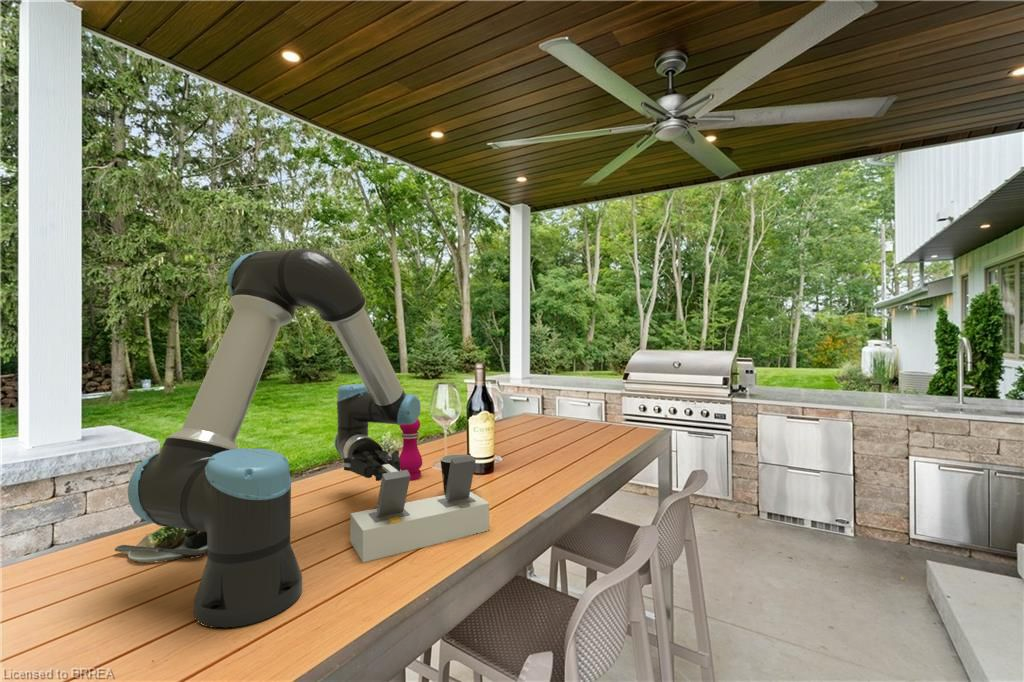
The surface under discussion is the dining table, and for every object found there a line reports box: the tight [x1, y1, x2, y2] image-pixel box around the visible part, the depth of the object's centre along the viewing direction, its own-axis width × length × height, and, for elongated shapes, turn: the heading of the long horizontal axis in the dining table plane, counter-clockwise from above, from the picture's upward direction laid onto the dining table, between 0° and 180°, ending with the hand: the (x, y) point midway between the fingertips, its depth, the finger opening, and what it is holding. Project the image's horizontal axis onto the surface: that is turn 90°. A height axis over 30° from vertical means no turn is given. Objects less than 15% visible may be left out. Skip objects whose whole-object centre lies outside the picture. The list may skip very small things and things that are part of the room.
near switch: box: [376, 470, 410, 517], centre depth 92 cm, size 5×2×10 cm, turn 122°
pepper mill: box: [399, 418, 423, 481], centre depth 140 cm, size 7×7×20 cm
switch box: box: [350, 490, 490, 563], centre depth 99 cm, size 27×10×6 cm, turn 122°
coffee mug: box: [440, 453, 470, 495], centre depth 125 cm, size 12×9×10 cm
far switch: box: [445, 455, 476, 502], centre depth 101 cm, size 5×2×10 cm, turn 122°
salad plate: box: [114, 526, 207, 563], centre depth 94 cm, size 19×18×5 cm
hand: (395, 478), depth 93 cm, fingers closed
